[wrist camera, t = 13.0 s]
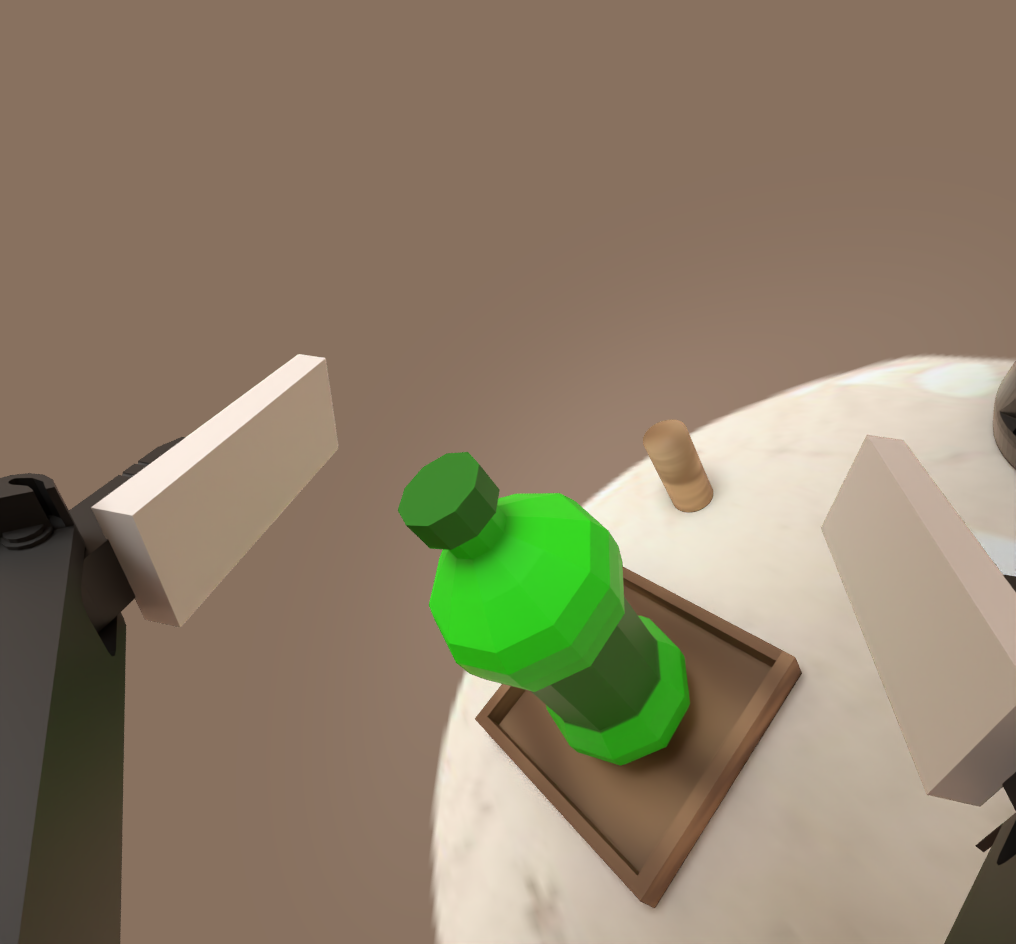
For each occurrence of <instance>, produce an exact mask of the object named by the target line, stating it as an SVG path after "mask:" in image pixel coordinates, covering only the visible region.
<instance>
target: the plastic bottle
mask: <svg viewBox="0 0 1016 944" xmlns="http://www.w3.org/2000/svg"><path fill="white" fill-rule="evenodd" d="M498 496H499V489H498V487H497V486H496V485H495V484H494V482H493V481H492V480H491V479H490V477H489V476H488V475H487V474H486V472H485V471H484V470H483V468H482V467H481V466H480V465H479V464H478V463H477V461H476V460H475V459H474V458H473V457H472V456H471V455H470V454H469V453H468V452H464V453H463V452H462V453H448V454H445V455H443V456H442V457H440V458H438V459H437V460H435V461H433V462H431V463H430V464H428V465H426V466H424V467H423V468H422V469H421V470H420V471H419V472H418V474H417V475H416V476H415V477H414V478H413V479H412V481H411V482H410V483H409V484H408V485H407V486H406V488H405V489H404V492H403V496H402V499H401V502H400V505H399V508H398V511H399V513H400V515H401V516H402V518H403V521H404V522H405V524H406V526H407V527H408V528H409V529H411V530H412V531H413V532H414V533H415V534H416V535H417V536H418V537H419V538H420V539H421V540H422V541H423V542H424V543H425V544H426V545H427V546H428V547H429V548H432V549H443V550H442V553H441V556H440V558H439V563H438V568H437V571H436V576H435V580H434V585H433V589H432V594H431V598H430V602H429V607H430V609H431V612H432V614H433V617H434V619H435V621H436V623H437V625H438V627H439V629H440V631H441V633H442V635H443V637H444V639H445V641H446V643H447V645H448V647H449V649H450V651H451V653H452V655H453V657H454V659H455V661H456V663H457V664H459V665H460V666H461V667H462V668H463V669H465V670H466V671H467V672H468V673H470V674H472V675H475V676H478V677H480V678H483V679H486V680H490V681H493V682H497V683H501V684H505V685H509V686H513V687H517V688H521V689H525V690H529V691H531V692H532V693H533V694H534V695H535V696H537V697H538V698H539V699H540V700H541V701H542V702H543V703H545V704H546V708H547V710H548V712H549V713H550V715H551V717H552V718H553V720H554V721H555V723H556V725H557V726H558V728H559V729H560V731H561V733H562V734H563V736H564V737H565V739H566V741H567V742H568V744H569V745H570V746H571V747H572V748H573V749H574V750H575V751H577V752H579V753H582V754H585V755H588V756H591V757H594V758H598V759H601V760H604V761H607V762H610V763H613V764H617V765H620V766H621V765H624V764H628V763H630V762H632V761H635V760H637V759H639V758H642V757H644V756H646V755H649V754H651V753H653V752H656V751H658V750H661V749H663V748H665V747H667V745H668V743H669V742H670V740H671V738H672V736H673V734H674V733H675V731H676V729H677V727H678V726H679V724H680V722H681V720H682V719H683V717H684V715H685V713H686V712H687V710H688V708H689V705H690V698H689V690H688V682H687V673H686V665H685V657H684V655H683V654H682V652H681V651H680V649H679V648H678V647H677V646H676V645H675V644H674V643H673V642H672V641H671V640H670V639H669V638H668V637H667V636H666V635H665V634H664V633H663V632H662V631H661V630H660V629H659V628H658V627H657V626H656V625H655V624H654V623H653V622H652V621H651V620H650V619H649V618H646V617H643V616H638V615H637V614H636V612H635V611H634V610H633V608H632V607H631V605H630V604H629V603H628V601H627V600H626V598H625V597H624V587H623V565H622V558H621V555H620V551H619V547H618V545H617V543H616V542H615V540H614V539H613V537H612V536H611V534H610V533H609V531H608V530H607V529H606V528H604V527H603V526H602V525H601V524H600V523H599V522H598V521H597V520H596V519H594V518H593V517H592V516H591V515H590V514H589V513H588V512H587V511H586V510H584V509H583V508H582V507H581V506H580V505H579V504H578V503H577V502H575V501H574V500H572V499H570V498H568V497H566V496H564V495H562V494H560V493H555V494H554V493H553V494H552V493H548V494H514V495H510V496H506V497H503V498H499V499H498Z"/></svg>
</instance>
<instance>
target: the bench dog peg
mask: <svg viewBox="0 0 1016 944" xmlns="http://www.w3.org/2000/svg"><path fill="white" fill-rule="evenodd" d="M643 445H644V447H645V449H646V451H647V453H648V455H649V457H650V459H651V461H652V463H653V465H654V467H655V469H656V471H657V473H658V475H659V477H660V479H661V480H662V482H663V484H664V486H665V488H666V490H667V492H668V494H669V496H670V498H671V500H672V502H673V504H674V506H675V507H676V508H677V509H678V510H680V511H683V512H695V511H698V510H700V509H702V508H704V507H705V506H707V505H708V504H709V503H710V501H711V499H712V497H713V489H712V487H711V485H710V482H709V480H708V478H707V475H706V473H705V471H704V468H703V466H702V463H701V461H700V459H699V456H698V454H697V452H696V449H695V447H694V445H693V442H692V440H691V437H690V435H689V433H688V431H687V428H686V426H685V424H684V423H682V422H681V421H678V420H665V421H661V422H659V423H657V424H655V425H653V426H652V427H651V428H650V429H649V430H648V431H647V432H646V433H645V435H644V437H643Z"/></svg>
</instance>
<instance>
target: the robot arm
mask: <svg viewBox="0 0 1016 944" xmlns="http://www.w3.org/2000/svg"><path fill="white" fill-rule="evenodd" d="M993 432H994V437H995V440H996V443H997V445H998V447H999V449H1000V451H1001V452H1002V454H1003V455H1004V457H1005V458H1006V459H1007V460H1008V461H1009V463H1010V464H1011V465H1012V466H1013V467H1015V468H1016V361H1015V362H1014V364H1013V366H1012V367H1011V369H1010V370H1009V372H1008V373H1007V375H1006V376H1005V378H1004V379H1003V381H1002V383H1001V385H1000V387H999V389H998V392H997V395H996V398H995V404H994V417H993ZM337 449H338V440H337V434H336V426H335V419H334V412H333V405H332V399H331V391H330V384H329V378H328V370H327V363H326V358H321V357H314V356H307V355H300V354H298V355H297V356H295V357H294V358H293V359H291V360H290V361H289V362H287V363H286V364H285V365H283V366H282V367H280V368H279V369H278V370H276V371H275V372H274V373H272V374H271V375H270V376H268V377H267V378H266V379H264V380H263V381H262V382H261V383H259V384H257V385H256V386H255V387H253V388H252V389H251V390H250V391H248V392H247V393H245V394H244V395H243V396H241V397H240V398H239V399H237V400H236V401H235V402H233V403H232V404H230V405H229V406H228V407H226V408H225V409H224V410H222V411H221V412H220V413H218V414H217V415H215V416H214V417H213V418H212V419H210V420H209V421H208V422H206V423H205V424H203V425H202V426H201V427H199V428H198V429H197V430H195V431H194V432H193V433H191V434H190V435H188V436H187V437H186V438H185V437H181V438H178V439H176V440H174V441H171V442H169V443H167V444H164V445H162V446H160V447H157V448H156V449H154V450H153V451H152V452H150V453H149V454H148V455H146V456H145V457H143V458H142V459H140V460H139V461H138V464H134V465H132V466H131V467H129V468H128V469H126V470H125V471H124V472H123V475H122V476H121V475H118V476H117V477H115V478H114V479H113V480H111V481H110V482H108V483H107V484H106V485H104V486H103V487H102V488H100V489H99V490H97V491H96V492H94V493H93V494H92V495H90V496H89V497H88V498H86V499H85V500H83V501H82V502H80V503H79V504H78V505H76V506H75V507H74V508H72V509H71V510H68V509H67V506H66V504H65V503H64V501H63V499H62V497H61V495H60V493H59V491H58V489H57V487H56V485H55V483H54V481H53V480H52V479H50V478H49V477H47V476H45V475H40V474H31V473H28V474H18V475H10V476H7V477H3V478H0V944H120V921H121V919H120V918H121V869H122V868H121V867H122V866H121V865H122V814H123V762H124V761H123V760H124V709H125V708H124V707H125V652H126V624H125V621H124V618H123V616H122V614H121V611H122V610H123V609H124V608H125V607H126V606H127V605H128V604H129V603H130V602H131V601H132V600H133V599H134V598H135V600H136V602H137V604H138V606H139V608H140V610H141V613H142V615H143V617H144V619H145V620H148V621H153V622H157V623H162V624H166V625H171V626H175V627H182V626H183V624H184V623H185V622H186V621H187V620H188V619H189V617H190V616H191V615H192V614H193V613H194V612H195V611H196V610H197V608H198V607H199V606H200V605H201V604H202V603H203V602H204V600H205V599H206V598H207V597H208V596H209V595H210V594H211V593H212V591H213V590H214V589H215V588H216V587H217V586H218V585H219V583H220V582H221V581H222V580H223V579H224V578H225V577H226V575H227V574H228V573H229V572H230V571H231V570H232V569H233V568H234V566H235V565H236V564H237V563H238V562H239V561H240V560H241V558H242V557H243V556H244V555H245V554H246V552H248V550H249V549H250V548H251V547H252V546H253V545H254V543H256V541H257V540H258V539H259V538H260V537H261V536H262V535H263V533H264V532H265V531H266V530H267V529H268V528H269V527H270V525H271V524H272V523H273V522H274V521H275V520H276V519H277V517H278V516H279V515H280V514H281V513H282V512H283V511H284V510H285V508H286V507H287V506H288V505H289V504H290V503H291V502H292V500H293V499H294V498H295V497H296V496H297V495H298V494H299V493H300V491H301V490H302V489H303V488H304V487H305V485H307V483H308V482H309V481H310V480H311V479H312V478H313V477H314V475H315V474H316V473H317V472H318V471H319V470H320V469H321V467H322V466H323V465H324V464H325V463H326V462H327V461H328V460H329V458H330V457H331V456H332V455H333V454H334V453H335V452H336V450H337ZM821 529H822V532H823V534H824V537H825V539H826V542H827V544H828V547H829V549H830V552H831V554H832V557H833V559H834V562H835V564H836V567H837V569H838V572H839V574H840V577H841V580H842V582H843V585H844V587H845V590H846V592H847V595H848V597H849V600H850V602H851V605H852V607H853V610H854V612H855V615H856V617H857V620H858V622H859V625H860V627H861V630H862V632H863V635H864V637H865V640H866V642H867V645H868V648H869V650H870V653H871V655H872V658H873V660H874V663H875V665H876V668H877V670H878V673H879V675H880V678H881V680H882V683H883V685H884V688H885V690H886V693H887V695H888V698H889V700H890V703H891V705H892V708H893V710H894V713H895V715H896V718H897V721H898V723H899V726H900V728H901V731H902V733H903V736H904V738H905V741H906V743H907V746H908V748H909V751H910V753H911V756H912V758H913V761H914V763H915V766H916V768H917V771H918V773H919V776H920V778H921V781H922V783H923V786H924V788H925V791H926V794H927V795H931V796H935V797H940V798H944V799H949V800H953V801H958V802H962V803H967V804H971V805H976V806H981V805H983V804H984V803H985V802H986V801H987V800H988V799H989V798H991V797H992V796H993V795H994V794H995V793H996V792H997V791H999V790H1000V789H1001V788H1002V787H1004V789H1005V791H1006V793H1007V795H1008V797H1009V799H1010V801H1011V803H1012V805H1013V807H1014V808H1015V810H1016V577H1015V576H1009V575H1003V574H1002V573H1001V572H1000V570H999V569H998V568H997V566H996V565H995V564H994V562H993V561H992V560H991V558H990V557H989V556H988V554H987V553H986V551H985V550H984V549H983V547H982V546H981V545H980V543H979V542H978V541H977V539H976V538H975V537H974V535H973V534H972V532H971V531H970V530H969V528H968V527H967V526H966V524H965V523H964V522H963V520H962V519H961V518H960V516H959V515H958V513H957V512H956V511H955V509H954V508H953V507H952V505H951V504H950V503H949V501H948V500H947V499H946V497H945V496H944V495H943V493H942V492H941V490H940V489H939V488H938V486H937V485H936V484H935V482H934V481H933V480H932V478H931V477H930V476H929V474H928V473H927V471H926V470H925V469H924V467H923V466H922V465H921V463H920V462H919V461H918V459H917V458H916V457H915V455H914V454H913V452H912V451H911V450H910V448H909V447H908V446H907V444H906V443H905V442H904V440H899V439H892V438H885V437H878V436H871V435H867V436H866V438H865V440H864V442H863V444H862V446H861V448H860V450H859V452H858V454H857V456H856V458H855V460H854V462H853V464H852V466H851V468H850V470H849V472H848V474H847V476H846V478H845V480H844V482H843V484H842V486H841V488H840V490H839V492H838V495H837V497H836V499H835V501H834V503H833V505H832V507H831V509H830V511H829V513H828V515H827V517H826V519H825V521H824V523H823V525H822V527H821ZM991 846H992V847H991ZM976 847H978V848H979V849H980V850H981V851H983V852H985V851H986V850H987V849H989V848H990V847H991V849H990V851H989V853H988V855H987V857H986V859H985V861H984V863H983V865H982V867H981V869H980V872H979V874H978V876H977V878H976V880H975V882H974V884H973V886H972V888H971V890H970V892H969V894H968V896H967V898H966V900H965V902H964V904H963V906H962V908H961V910H960V912H959V915H958V917H957V919H956V921H955V923H954V925H953V927H952V929H951V931H950V933H949V935H948V937H947V939H946V941H945V943H944V944H1016V813H1015V814H1014V815H1012V816H1011V817H1010V818H1009V819H1007V820H1006V821H1005V822H1004V823H1002V824H1001V825H1000V826H999V827H997V828H996V829H995V830H994V831H993V832H991V833H990V834H989V835H988V836H986V837H985V838H984V839H983V840H982V841H980V842H979V843H978V844H977V845H976Z"/></svg>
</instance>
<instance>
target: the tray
mask: <svg viewBox="0 0 1016 944" xmlns="http://www.w3.org/2000/svg"><path fill="white" fill-rule="evenodd" d="M623 587H624V597H625V598H626V600H627V601H628V603H629V604H630V605H631V607H632V608H633V610H634V611H635V612H636V614H637V615H638V616H643V617H646V618H649V619H650V620H651V621H652V622H653V623H654V624H655V625H656V626H657V627H658V628H659V629H660V630H661V631H662V632H663V633H664V634H665V635H666V636H667V637H668V638H669V639H670V640H671V641H672V642H673V643H674V644H675V645H676V646H677V647H678V648H679V649H680V651H681V652H682V654H683V655H684V657H685V665H686V673H687V682H688V690H689V698H690V705H689V708H688V710H687V712H686V713H685V715H684V717H683V719H682V720H681V722H680V724H679V726H678V727H677V729H676V731H675V733H674V734H673V736H672V738H671V740H670V742H669V743H668V745H667V747H665V748H663V749H661V750H658V751H656V752H653V753H651V754H649V755H646V756H644V757H642V758H639V759H637V760H635V761H632V762H630V763H628V764H624V765H621V766H620V765H617V764H613V763H610V762H607V761H604V760H601V759H598V758H594V757H591V756H588V755H585V754H582V753H579V752H577V751H575V750H574V749H573V748H572V747H571V746H570V745H569V744H568V742H567V741H566V739H565V737H564V736H563V734H562V733H561V731H560V729H559V728H558V726H557V725H556V723H555V721H554V720H553V718H552V717H551V715H550V713H549V712H548V710H547V708H546V704H545V703H543V702H542V701H541V700H540V699H539V698H538V697H537V696H535V695H534V694H533V693H532V692H531V691H529V690H525V689H521V688H517V687H513V686H509V685H505V684H502V685H501V686H500V687H499V689H498V690H497V691H496V692H495V694H494V695H493V696H492V698H491V699H490V700H489V701H488V703H487V704H486V705H485V706H484V708H483V709H482V710H481V712H480V713H479V714H478V715H477V717H476V718H475V720H476V721H477V722H478V723H479V724H480V725H481V726H482V727H483V728H484V729H485V731H486V732H487V733H488V734H489V735H490V736H491V737H492V738H493V739H494V740H495V742H496V743H497V744H498V745H499V746H500V747H501V748H502V749H503V750H504V751H505V753H506V754H507V755H508V756H509V757H510V758H511V759H512V760H513V761H514V762H515V764H516V765H517V766H518V767H519V768H520V769H521V770H522V771H523V772H524V773H525V775H526V776H527V777H528V778H529V779H530V780H531V781H532V782H533V783H534V784H535V786H536V787H537V788H538V789H539V790H540V791H541V792H542V793H543V794H544V795H545V797H546V798H547V799H548V800H549V801H550V802H551V803H552V804H553V805H554V806H555V808H556V809H557V810H558V811H559V812H560V813H561V814H562V815H563V816H564V818H565V819H566V820H567V821H568V822H569V823H570V824H571V825H572V826H573V827H574V829H575V830H576V831H577V832H578V833H579V834H580V835H581V836H582V837H583V838H584V840H585V841H586V842H587V843H588V844H589V845H590V846H591V847H592V848H593V849H594V851H595V852H596V853H597V854H598V855H599V856H600V857H601V858H602V859H603V860H604V862H605V863H606V864H607V865H608V866H609V867H610V868H611V869H612V870H613V871H614V873H615V874H616V875H617V876H618V877H619V878H620V879H621V880H622V881H623V882H624V884H625V885H626V886H627V887H628V888H629V889H630V890H631V891H632V892H633V893H634V895H635V896H636V897H637V898H638V899H639V900H640V901H641V902H643V903H645V904H647V905H649V906H651V907H653V908H655V907H656V905H657V903H658V902H659V900H660V899H661V897H662V895H663V894H664V892H665V891H666V889H667V887H668V886H669V884H670V883H671V881H672V879H673V878H674V876H675V875H676V873H677V871H678V870H679V868H680V867H681V865H682V863H683V862H684V860H685V859H686V857H687V855H688V854H689V852H690V851H691V849H692V848H693V846H694V844H695V843H696V841H697V840H698V838H699V836H700V835H701V833H702V832H703V830H704V828H705V827H706V825H707V824H708V822H709V820H710V819H711V817H712V816H713V814H714V812H715V811H716V809H717V808H718V806H719V804H720V803H721V801H722V800H723V798H724V796H725V795H726V793H727V792H728V790H729V788H730V787H731V785H732V784H733V782H734V780H735V779H736V777H737V776H738V774H739V772H740V771H741V769H742V768H743V766H744V764H745V763H746V761H747V760H748V758H749V756H750V755H751V753H752V752H753V750H754V748H755V747H756V745H757V744H758V742H759V741H760V739H761V737H762V736H763V734H764V733H765V731H766V729H767V728H768V726H769V725H770V723H771V721H772V720H773V718H774V717H775V715H776V713H777V712H778V710H779V709H780V707H781V705H782V704H783V702H784V701H785V699H786V697H787V696H788V694H789V693H790V691H791V689H792V688H793V686H794V685H795V683H796V681H797V680H798V678H799V677H800V675H801V671H800V668H799V665H798V663H797V660H796V658H795V657H794V656H792V655H790V654H788V653H786V652H784V651H782V650H781V649H779V648H777V647H775V646H773V645H771V644H769V643H767V642H765V641H763V640H762V639H760V638H758V637H756V636H754V635H752V634H750V633H748V632H746V631H744V630H742V629H741V628H739V627H737V626H735V625H733V624H731V623H729V622H727V621H725V620H723V619H722V618H720V617H718V616H716V615H714V614H712V613H710V612H708V611H706V610H704V609H703V608H701V607H699V606H697V605H695V604H693V603H691V602H689V601H687V600H685V599H684V598H682V597H680V596H678V595H676V594H674V593H672V592H670V591H668V590H666V589H665V588H663V587H661V586H659V585H657V584H655V583H653V582H651V581H649V580H647V579H645V578H644V577H642V576H640V575H638V574H636V573H634V572H632V571H630V570H628V569H626V568H625V567H623Z"/></svg>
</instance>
